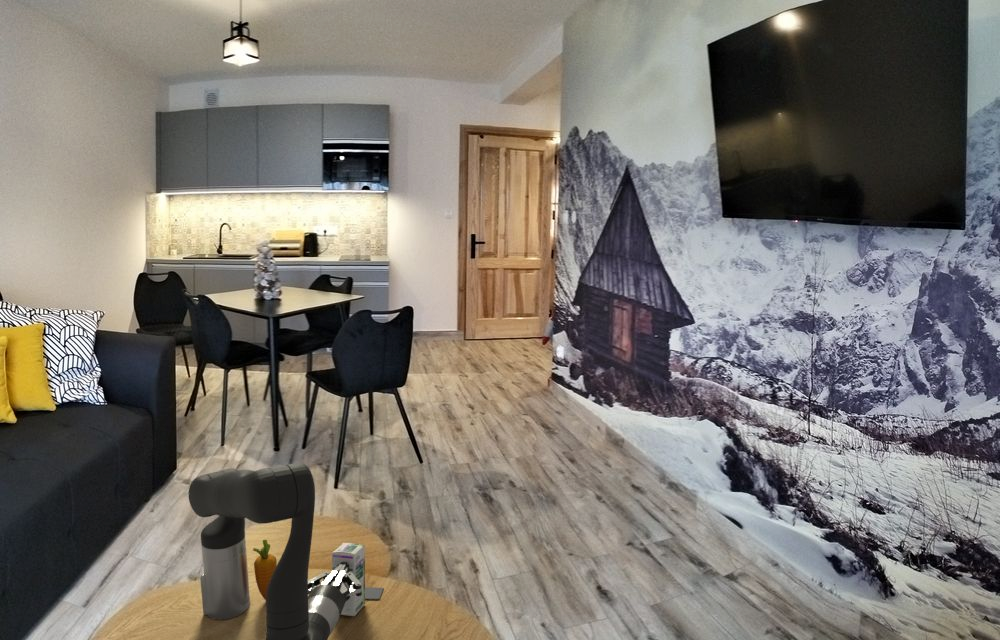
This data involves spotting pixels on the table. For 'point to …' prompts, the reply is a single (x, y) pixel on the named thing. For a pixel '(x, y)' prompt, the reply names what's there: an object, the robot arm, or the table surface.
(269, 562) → the carrot
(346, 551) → the syrup box
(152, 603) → the table surface
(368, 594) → the grey flat block
